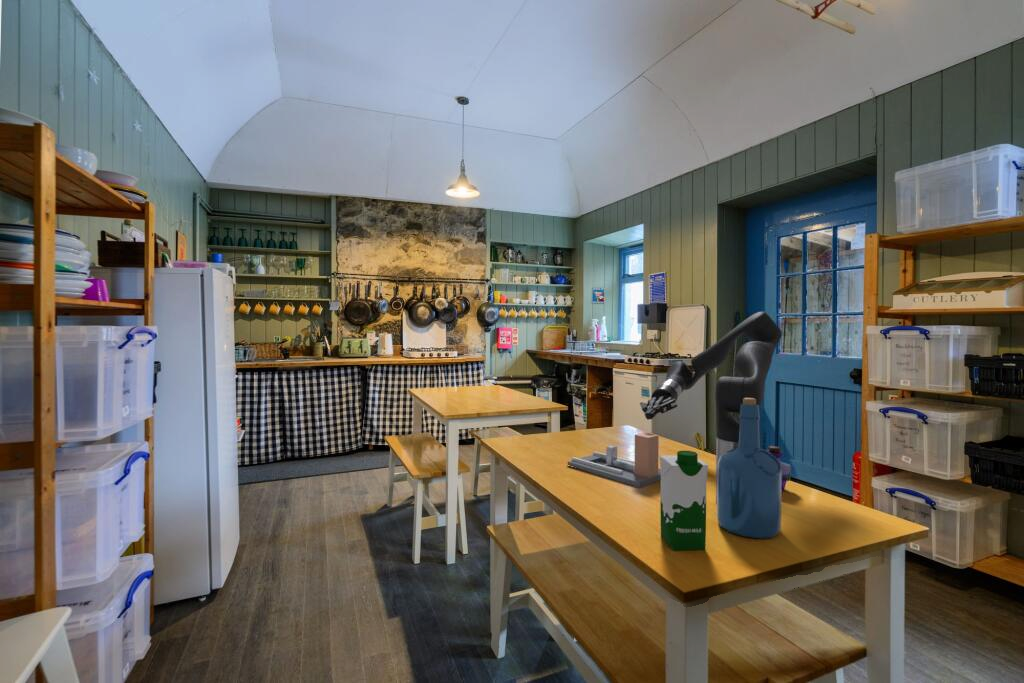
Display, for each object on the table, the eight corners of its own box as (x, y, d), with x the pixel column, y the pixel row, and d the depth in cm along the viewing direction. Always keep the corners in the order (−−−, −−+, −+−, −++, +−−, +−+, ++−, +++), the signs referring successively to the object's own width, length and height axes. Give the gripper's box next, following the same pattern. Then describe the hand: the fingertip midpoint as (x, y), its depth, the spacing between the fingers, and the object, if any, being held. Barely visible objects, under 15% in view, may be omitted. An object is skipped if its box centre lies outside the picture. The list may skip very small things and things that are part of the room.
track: (598, 457, 170) (598, 450, 170) (669, 476, 148) (669, 468, 148) (567, 466, 159) (567, 458, 159) (639, 487, 138) (639, 478, 138)
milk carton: (669, 552, 98) (670, 456, 98) (655, 533, 107) (655, 445, 107) (711, 551, 99) (713, 455, 98) (693, 532, 108) (694, 444, 107)
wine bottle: (704, 523, 113) (705, 396, 112) (741, 512, 119) (743, 392, 118) (756, 546, 101) (758, 405, 100) (795, 533, 107) (797, 400, 106)
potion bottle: (798, 493, 133) (798, 450, 132) (766, 493, 133) (767, 450, 132) (781, 483, 141) (781, 443, 141) (751, 483, 141) (752, 443, 141)
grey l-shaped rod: (613, 462, 157) (613, 444, 157) (643, 470, 149) (643, 451, 148) (605, 464, 155) (605, 447, 155) (635, 472, 146) (635, 454, 146)
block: (644, 470, 149) (644, 432, 149) (658, 474, 145) (658, 435, 145) (634, 474, 146) (634, 434, 145) (648, 477, 142) (649, 437, 141)
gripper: (689, 402, 159) (671, 426, 146) (652, 405, 167) (632, 428, 155) (682, 381, 158) (664, 404, 145) (645, 386, 166) (625, 407, 153)
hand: (648, 416), depth 150 cm, fingers closed
